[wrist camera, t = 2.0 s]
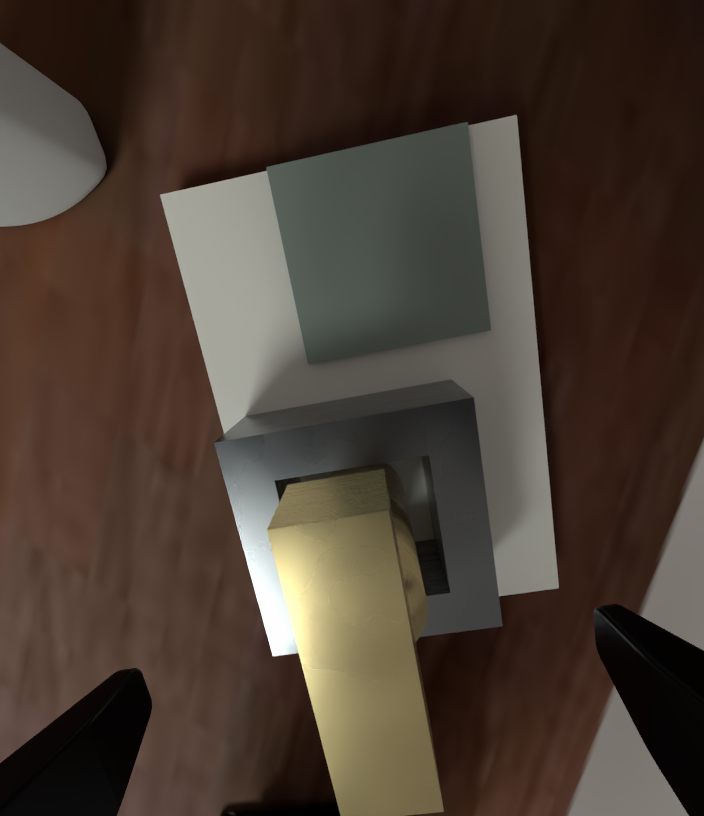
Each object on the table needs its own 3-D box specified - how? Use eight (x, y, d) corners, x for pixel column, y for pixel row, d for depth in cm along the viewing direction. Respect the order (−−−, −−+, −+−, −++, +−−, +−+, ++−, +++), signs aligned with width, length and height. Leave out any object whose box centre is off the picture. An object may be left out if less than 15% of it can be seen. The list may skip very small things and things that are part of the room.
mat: (488, 329, 13) (491, 330, 13) (309, 363, 14) (308, 364, 14) (465, 126, 12) (467, 121, 12) (268, 170, 13) (265, 166, 12)
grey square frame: (476, 566, 15) (502, 626, 12) (290, 593, 16) (272, 656, 13) (451, 379, 14) (473, 397, 11) (245, 416, 14) (214, 442, 11)
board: (547, 571, 16) (558, 587, 15) (281, 609, 17) (275, 626, 16) (505, 129, 13) (516, 114, 12) (174, 203, 14) (160, 194, 13)
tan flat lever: (416, 565, 15) (465, 809, 8) (343, 576, 16) (322, 823, 8) (388, 402, 14) (413, 506, 7) (309, 416, 14) (242, 533, 7)
